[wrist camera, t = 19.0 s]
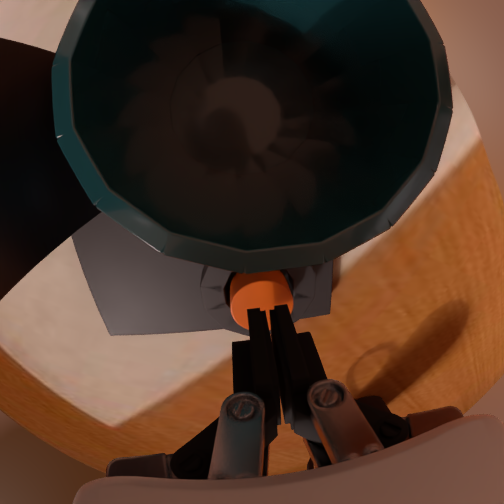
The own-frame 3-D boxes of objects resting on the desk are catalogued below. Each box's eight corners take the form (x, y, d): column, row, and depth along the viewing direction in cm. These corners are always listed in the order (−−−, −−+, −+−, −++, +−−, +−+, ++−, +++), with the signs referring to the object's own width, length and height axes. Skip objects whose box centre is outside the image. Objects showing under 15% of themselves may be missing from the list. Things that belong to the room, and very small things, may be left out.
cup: (309, 37, 9) (411, -54, 2) (322, 174, 12) (445, 246, 4) (158, 50, 9) (65, -40, 1) (175, 190, 11) (94, 291, 4)
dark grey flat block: (310, 21, 11) (327, 1, 8) (324, 302, 18) (338, 329, 16) (58, 69, 10) (30, 62, 8) (115, 323, 18) (103, 351, 15)
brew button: (285, 259, 14) (293, 276, 12) (287, 307, 15) (294, 327, 13) (226, 266, 14) (226, 284, 12) (233, 314, 15) (234, 335, 13)
